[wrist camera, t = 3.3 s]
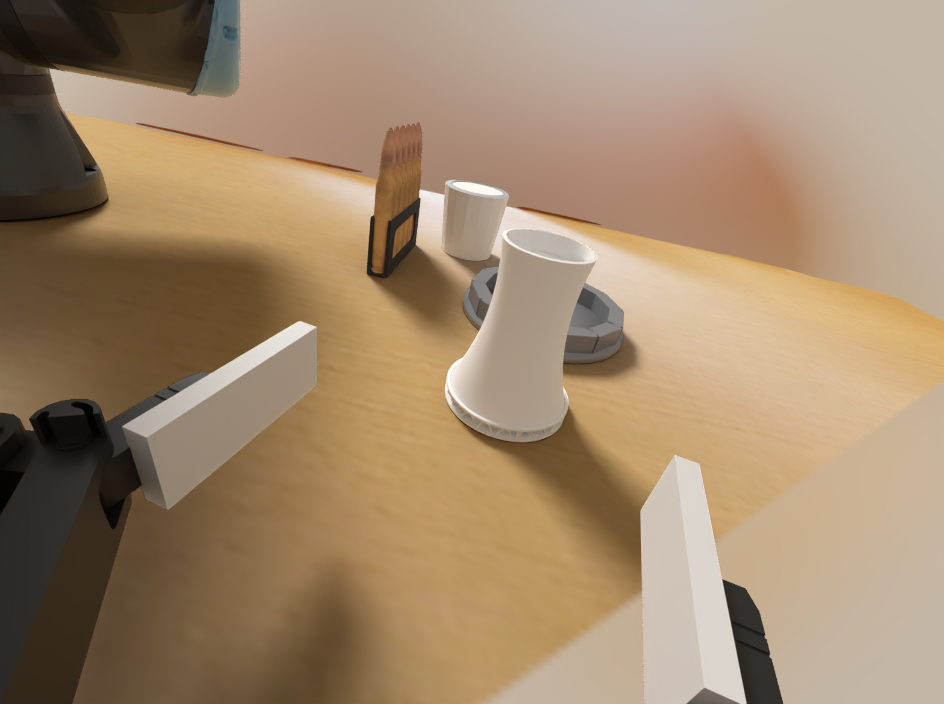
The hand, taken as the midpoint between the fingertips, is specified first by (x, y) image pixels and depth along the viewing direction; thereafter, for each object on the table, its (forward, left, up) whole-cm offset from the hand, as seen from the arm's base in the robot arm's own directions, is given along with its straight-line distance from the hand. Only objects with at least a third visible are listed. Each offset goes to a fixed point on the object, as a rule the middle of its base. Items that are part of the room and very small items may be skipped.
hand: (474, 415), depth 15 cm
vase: (0, +10, -6) cm, 12 cm away
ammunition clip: (-16, +26, -6) cm, 31 cm away
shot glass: (-11, +34, -6) cm, 36 cm away
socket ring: (0, +23, -6) cm, 23 cm away
